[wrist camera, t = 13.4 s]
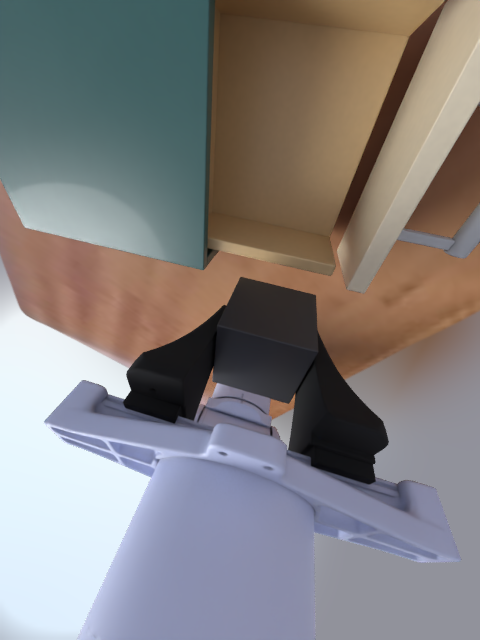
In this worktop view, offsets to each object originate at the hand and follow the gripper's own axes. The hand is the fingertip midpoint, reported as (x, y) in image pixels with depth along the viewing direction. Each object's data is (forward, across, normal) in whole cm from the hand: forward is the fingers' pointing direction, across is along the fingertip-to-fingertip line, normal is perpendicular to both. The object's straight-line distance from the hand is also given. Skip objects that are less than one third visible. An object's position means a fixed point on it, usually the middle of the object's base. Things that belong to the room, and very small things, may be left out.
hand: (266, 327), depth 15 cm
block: (+1, 0, 0) cm, 1 cm away
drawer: (+9, -1, -9) cm, 13 cm away
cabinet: (+10, +12, -9) cm, 19 cm away
